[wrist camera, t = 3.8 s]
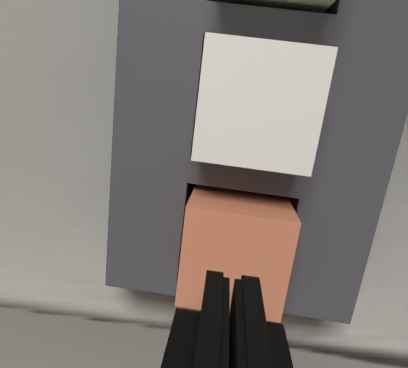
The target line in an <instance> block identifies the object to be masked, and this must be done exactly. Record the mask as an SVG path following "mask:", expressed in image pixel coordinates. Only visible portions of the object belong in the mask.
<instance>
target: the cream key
mask: <svg viewBox="0 0 408 368" xmlns="http://www.w3.org/2000/svg"><path fill="white" fill-rule="evenodd" d="M337 51H338V47H333V46H324V45H315V44H306V43H297V42H289V41H280V40H271V39H262V38H253V37H245V36H236V35H227V34H218V33H209V32H205V38H204V47H203V56H202V65H201V74H200V83H199V92H198V101H197V110H196V119H195V128H194V137H193V146H192V155H191V161H198V162H205V163H213V164H220V165H228V166H235V167H242V168H250V169H257V170H264V171H272V172H279V173H287V174H294V175H301V176H309V177H311V175H312V170H313V166H314V161H315V156H316V151H317V146H318V142H319V137H320V132H321V127H322V122H323V118H324V113H325V108H326V103H327V99H328V94H329V89H330V84H331V79H332V75H333V70H334V65H335V60H336V56H337Z"/></svg>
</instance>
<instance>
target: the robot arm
mask: <svg viewBox="0 0 408 368" xmlns="http://www.w3.org/2000/svg"><path fill="white" fill-rule="evenodd" d="M223 274H224V272H218V271H211V270H207V272H206V279H205V286H204V293H203V300H202V307H201V312H198V311H191V310H185V309H178V308H177V309H176V312H175V315H174V319H173V323H172V326H171V330H170V334H169V338H168V342H167V346H166V349H165V353H164V357H163V361H162V364H161V368H293V364H292V360H291V355H290V351H289V347H288V342H287V338H286V334H285V329H284V326H283V325H282V324H280V323H273V322H266V316H265V309H264V303H263V297H262V290H261V284H260V278H259V277H253V276H246V275H242V276H241V279H235V280H234V286H233V293H232V299H231V306H230V313H229V303H230V278H228V277H223Z"/></svg>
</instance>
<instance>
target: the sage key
mask: <svg viewBox="0 0 408 368" xmlns="http://www.w3.org/2000/svg"><path fill="white" fill-rule="evenodd" d="M335 1H336V0H217V2H226V3H235V4H245V5H254V6H263V7H272V8H282V9H291V10H300V11H309V12H319V13H323V12H324V11H325V10H327V9H328V8H329V7H330V6H331V5H332V4H333V3H334V2H335Z"/></svg>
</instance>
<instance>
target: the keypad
mask: <svg viewBox="0 0 408 368" xmlns="http://www.w3.org/2000/svg"><path fill="white" fill-rule="evenodd" d="M205 32H209V33H218V34H227V35H236V36H245V37H253V38H262V39H271V40H280V41H289V42H297V43H306V44H315V45H324V46H333V47H338V51H337V56H336V60H335V65H334V70H333V75H332V79H331V84H330V89H329V94H328V99H327V103H326V108H325V113H324V118H323V122H322V127H321V132H320V137H319V142H318V146H317V151H316V156H315V161H314V166H313V170H312V175H311V177H309V176H301V175H294V174H287V173H279V172H272V171H264V170H257V169H250V168H242V167H235V166H228V165H220V164H213V163H205V162H198V161H191V155H192V146H193V137H194V128H195V119H196V110H197V101H198V92H199V83H200V74H201V65H202V56H203V47H204V38H205ZM407 113H408V0H336V1H335V2H334V3H333V4H332V5H331V6H330V7H329V8H328V9H327V10H325V11H324V12H323V13H316V12H306V11H297V10H288V9H279V8H269V7H260V6H251V5H242V4H232V3H223V2H214V0H119V15H118V36H117V57H116V77H115V98H114V119H113V139H112V160H111V181H110V201H109V222H108V243H107V263H106V284H105V285H107V286H113V287H120V288H126V289H132V290H139V291H145V292H151V293H157V294H164V295H170V296H176V289H177V280H178V271H179V262H180V254H181V245H182V236H183V227H184V218H185V209H186V205H187V203H188V200H189V198H190V196H191V194H192V190H193V184H198V185H205V186H212V187H219V188H226V189H233V190H241V191H248V192H255V193H262V194H269V195H276V196H284V197H288V199H289V201H290V202H291V204H292V206H293V208H294V210H295V212H296V214H297V216H298V218H299V220H300V221H301V227H300V232H299V237H298V242H297V247H296V251H295V256H294V261H293V266H292V271H291V275H290V280H289V285H288V290H287V294H286V299H285V304H284V309H283V314H289V315H296V316H302V317H308V318H314V319H321V320H327V321H333V322H340V323H346V324H350V322H351V318H352V315H353V311H354V307H355V304H356V300H357V296H358V293H359V289H360V285H361V282H362V278H363V274H364V271H365V267H366V263H367V260H368V256H369V252H370V249H371V245H372V241H373V238H374V234H375V230H376V227H377V223H378V219H379V216H380V212H381V208H382V205H383V201H384V197H385V194H386V190H387V186H388V183H389V179H390V175H391V172H392V168H393V164H394V161H395V157H396V153H397V150H398V146H399V142H400V139H401V135H402V131H403V128H404V124H405V120H406V117H407Z"/></svg>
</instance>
